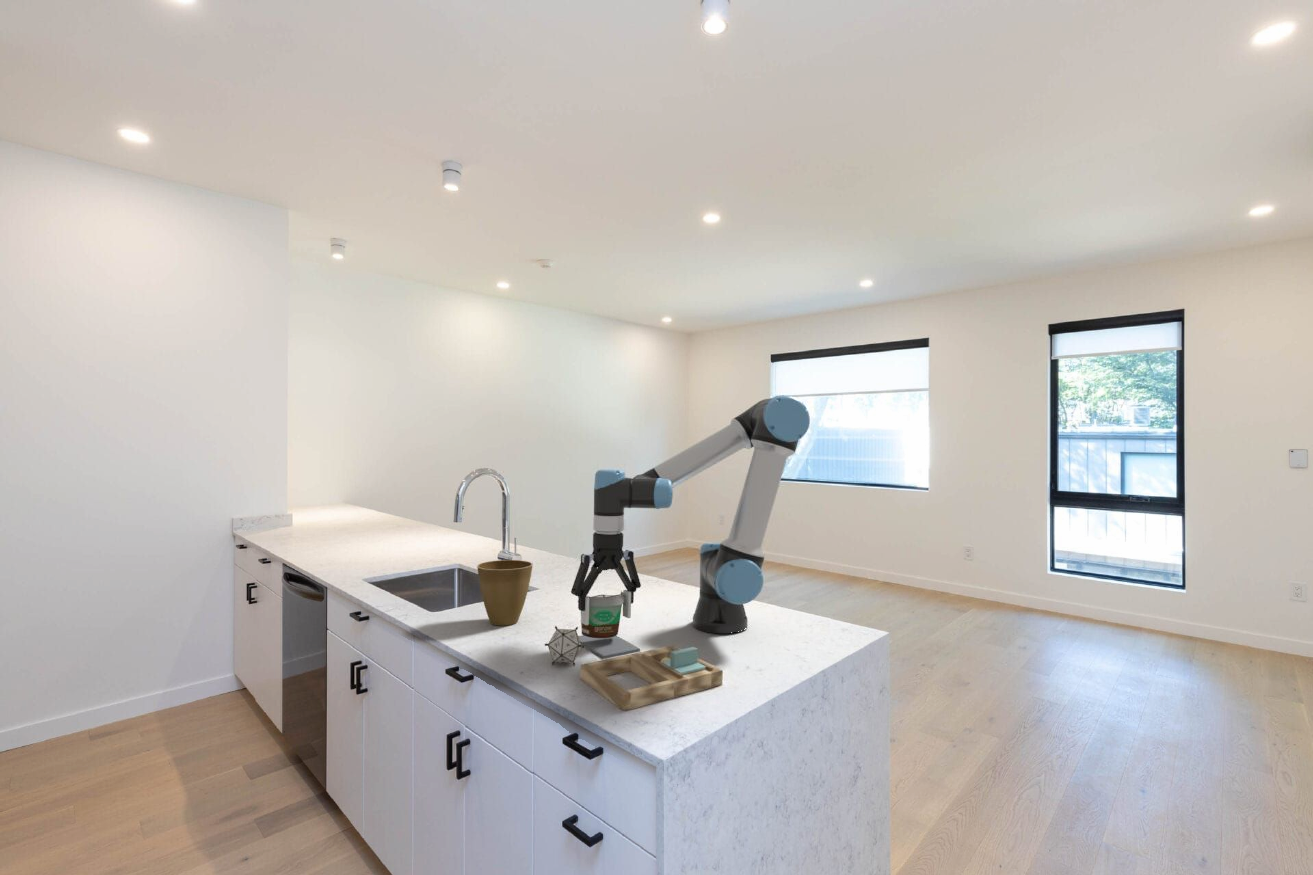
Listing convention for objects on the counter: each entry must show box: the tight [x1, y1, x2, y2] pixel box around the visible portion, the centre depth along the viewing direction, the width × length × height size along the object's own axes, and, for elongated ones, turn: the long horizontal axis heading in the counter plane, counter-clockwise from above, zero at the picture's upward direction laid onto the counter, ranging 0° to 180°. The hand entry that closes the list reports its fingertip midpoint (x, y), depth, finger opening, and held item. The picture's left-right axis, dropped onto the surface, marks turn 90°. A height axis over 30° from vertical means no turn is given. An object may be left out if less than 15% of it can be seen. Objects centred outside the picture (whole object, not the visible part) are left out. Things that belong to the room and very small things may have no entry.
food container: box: [580, 590, 625, 638], centre depth 149 cm, size 12×6×10 cm, turn 118°
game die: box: [543, 625, 586, 667], centre depth 137 cm, size 9×8×10 cm
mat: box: [578, 634, 641, 660], centre depth 149 cm, size 10×16×1 cm, turn 34°
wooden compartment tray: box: [580, 645, 724, 712], centre depth 127 cm, size 24×18×4 cm
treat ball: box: [660, 658, 670, 663], centre depth 133 cm, size 3×3×3 cm
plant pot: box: [476, 559, 533, 627], centre depth 167 cm, size 15×15×16 cm
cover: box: [662, 646, 706, 675], centre depth 128 cm, size 7×7×4 cm
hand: (606, 620), depth 150 cm, fingers closed on food container, 11 cm apart
